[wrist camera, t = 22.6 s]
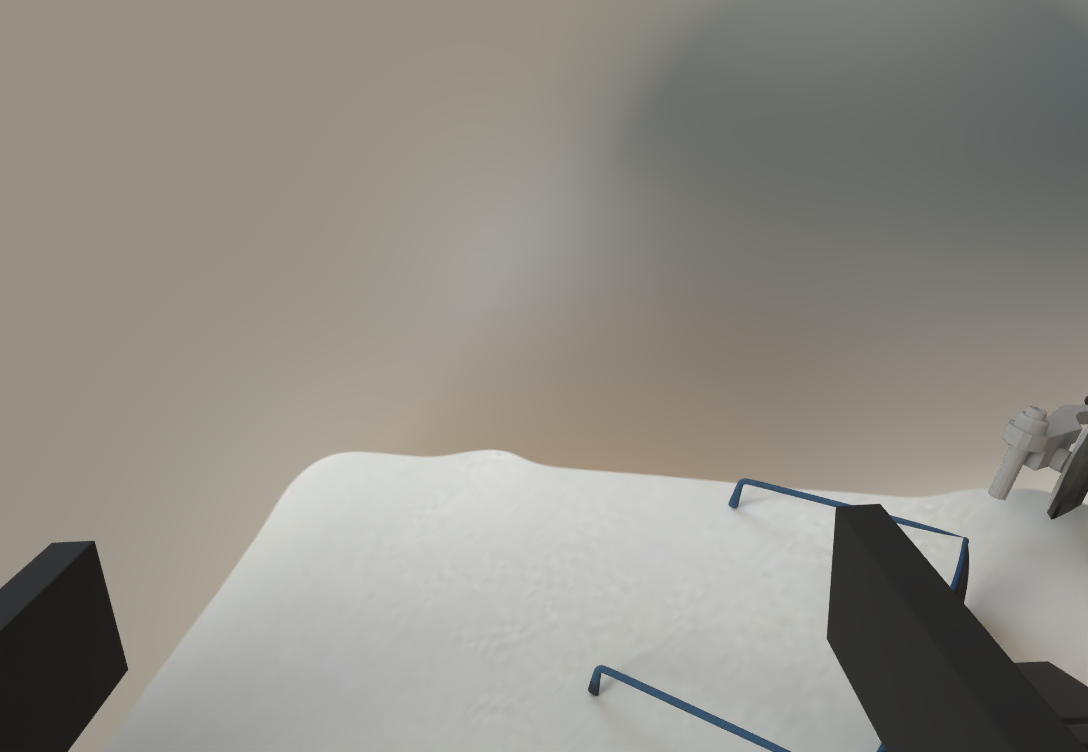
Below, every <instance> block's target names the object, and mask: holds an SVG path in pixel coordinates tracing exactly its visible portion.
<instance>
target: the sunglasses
mask: <svg viewBox="0 0 1088 752" xmlns="http://www.w3.org/2000/svg"><path fill="white" fill-rule="evenodd" d="M744 484H748V485H752V486H756V487H760V488H764V489H768V490H772V491H776V492H780V493H783V494H787V495H791V496H795V497H799V498H803V499H806V500H810V501H814V502H818V503H822V504H825V505H829V506H833V507H836V506H848V505H849V504H846V503H842V502H838V501H834V500H830V499H826V498H823V497H819V496H815V495H811V494H807V493H803V492H799V491H795V490H792V489H788V488H784V487H780V486H776V485H771V484H768V483H764V482H760V481H755V480H751V479H741V480H740V481H739V482H738V483H737V485H736V487H735V490H734V492H733V494H732V496H731V499H730V501H729V506H731V507H733V508H737V507H738V503H739V499H740V495H741V491H742V487H743V485H744ZM890 516H891V515H890ZM891 518H892V519H893V520H894V521H895V522H896V523H899V524H903V525H907V526H911V527H915V528H919V529H923V530H928V531H932V532H936V533H941V534H946V535H951V536H957V537H961V536H958V535H955V534H952V533H949V532H946V531H943V530H940V529H937V528H933V527H930V526H927V525H923V524H920V523H916V522H913V521H909V520H905V519H902V518H898V517H894V516H891ZM962 538H963V542H962V547H961V553H960V557H959V561H958V565H957V568H956V572H955V575H954V578H953V581H952V584H951V586H950V588H951V589H952V590H953V591H954V592H955V594H956V595H957V596H958V597H959V598H960V600H961V601H962V602H963V603H964V601H965V595H966V590H967V583H968V574H969V550H968V543H969V539H968V538H966V537H962ZM601 673H604V674H606V675H608V676H611V677H613V678H615V679H617V680H619V681H622V682H624V683H626V684H628V685H630V686H632V687H635V688H637V689H639V690H641V691H643V692H645V693H647V694H650V695H652V696H654V697H656V698H658V699H660V700H662V701H665V702H667V703H669V704H671V705H673V706H675V707H677V708H680V709H682V710H684V711H686V712H688V713H690V714H692V715H695V716H697V717H699V718H701V719H703V720H705V721H708V722H710V723H712V724H714V725H716V726H718V727H720V728H723V729H725V730H727V731H729V732H731V733H733V734H736V735H738V736H740V737H742V738H744V739H746V740H749V741H751V742H753V743H755V744H757V745H759V746H762V747H764V748H766V749H768V750H770V751H773V752H791V751H789V750H786V749H784V748H782V747H780V746H778V745H776V744H774V743H772V742H770V741H768V740H765V739H763V738H761V737H759V736H757V735H755V734H753V733H750V732H748V731H746V730H744V729H742V728H740V727H738V726H735V725H733V724H731V723H729V722H727V721H725V720H723V719H720V718H718V717H716V716H714V715H712V714H710V713H707V712H705V711H703V710H701V709H699V708H697V707H695V706H692V705H690V704H688V703H686V702H684V701H682V700H679V699H677V698H675V697H673V696H671V695H668V694H666V693H664V692H662V691H660V690H658V689H655V688H653V687H651V686H649V685H647V684H644V683H642V682H640V681H638V680H636V679H633V678H631V677H629V676H627V675H625V674H622V673H620V672H618V671H616V670H613V669H611V668H609V667H606V666H603V665H600V666H597V667H596V668H595V670H594V672H593V675H592V678H591V681H590V684H589V688H588V691H589V692H590V693H591V694H593V695H595V696H598V693H599V686H600V678H601ZM877 752H886V750H885V748H884V746H883V744H881V745H880V747H879V749H878V750H877Z"/></svg>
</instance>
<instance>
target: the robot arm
mask: <svg viewBox="0 0 1088 752" xmlns="http://www.w3.org/2000/svg"><path fill="white" fill-rule="evenodd" d="M827 640H828V642H829V644H830V646H831V648H832V650H833V651H834V653H835V655H836V657H837V659H838V661H839V663H840V665H841V667H842V668H843V670H844V672H845V674H846V676H847V678H848V680H849V682H850V684H851V686H852V687H853V689H854V691H855V693H856V695H857V697H858V699H859V701H860V703H861V704H862V706H863V708H864V710H865V712H866V714H867V716H868V718H869V720H870V721H871V723H872V725H873V727H874V729H875V731H876V733H877V735H878V737H879V738H880V740H881V742H882V744H883V746H884V748H885V750H886V752H1088V687H1087V686H1086V685H1084V684H1083V683H1081V682H1080V681H1078V680H1076V679H1075V678H1073V677H1072V676H1070V675H1069V674H1067V673H1065V672H1064V671H1062V670H1061V669H1059V668H1058V667H1056V666H1055V665H1053V664H1051V663H1050V662H1048V661H1047V662H1024V663H1013V661H1012V660H1011V659H1010V658H1009V657H1008V655H1007V654H1006V653H1005V652H1004V651H1003V649H1002V648H1001V647H1000V646H999V645H998V644H997V642H996V641H995V640H994V639H993V638H992V636H991V635H990V634H989V633H988V632H987V630H986V629H985V628H984V627H983V626H982V625H981V623H980V622H979V621H978V620H977V619H976V617H975V616H974V615H973V614H972V613H971V611H970V610H969V609H968V608H967V607H966V605H965V604H964V603H963V602H962V601H961V600H960V598H959V597H958V596H957V595H956V594H955V592H954V591H953V590H952V589H951V588H950V586H949V585H948V584H947V583H946V582H945V581H944V579H943V578H942V577H941V576H940V575H939V573H938V572H937V571H936V570H935V569H934V567H933V566H932V565H931V564H930V563H929V561H928V560H927V559H926V558H925V557H924V556H923V554H922V553H921V552H920V551H919V550H918V548H917V547H916V546H915V545H914V544H913V542H912V541H911V540H910V539H909V538H908V537H907V535H906V534H905V533H904V532H903V531H902V529H901V528H900V527H899V526H898V525H897V523H896V522H895V521H894V520H893V519H892V518H891V516H890V515H889V514H888V513H887V512H886V510H885V509H884V508H883V507H882V506H881V504H869V505H848V506H836V514H835V529H834V543H833V557H832V572H831V586H830V600H829V615H828V629H827ZM127 670H128V667H127V663H126V659H125V656H124V651H123V648H122V644H121V640H120V636H119V632H118V629H117V625H116V621H115V617H114V613H113V610H112V606H111V602H110V598H109V594H108V590H107V587H106V583H105V579H104V575H103V572H102V568H101V564H100V560H99V557H98V552H97V549H96V545H95V541H83V542H62V543H61V542H60V543H51V544H50V545H49V546H48V547H47V548H46V549H45V550H43V551H42V552H41V553H40V554H39V555H38V556H37V557H35V558H34V559H33V560H32V561H31V562H30V563H29V564H28V565H26V567H24V568H23V569H22V570H21V571H20V572H19V573H17V574H16V575H15V576H14V577H13V578H12V579H11V580H10V581H9V582H8V583H6V584H5V585H4V586H3V587H2V588H1V589H0V752H68V750H69V749H70V748H71V746H72V745H73V744H74V742H75V741H76V740H77V738H78V737H79V736H80V734H81V733H82V731H83V730H84V729H85V727H86V726H87V725H88V723H89V722H90V720H91V719H92V718H93V716H94V715H95V714H96V713H97V711H98V710H99V708H100V707H101V706H102V704H103V703H104V701H105V700H106V699H107V698H108V696H109V695H110V694H111V692H112V691H113V689H114V688H115V687H116V685H117V684H118V683H119V681H120V680H121V679H122V677H123V676H124V675H125V673H126V672H127Z"/></svg>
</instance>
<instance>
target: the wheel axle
mask: <svg viewBox="0 0 1088 752" xmlns="http://www.w3.org/2000/svg"><path fill="white" fill-rule="evenodd" d="M1085 404H1086V405H1066V406H1062V407H1060V408H1059V409H1057V410H1056V411H1055V412H1054V413H1053V414H1051V415H1050V416H1048V417H1046V416H1047V412H1046V411H1044V410H1042V409H1040V408H1036V407H1033V406H1030V407H1029V408H1028V410H1027V411H1026V412H1024V411H1023V412H1020V413H1019V414H1018V416H1017V418H1016V420H1010V421H1009V423H1008V425H1007V427H1006V429H1005V431H1004V433H1003V436H1002V438H1003V440H1004V441H1005V443H1007V444H1008V445H1010V447H1009V450H1008V451H1007V453H1006V456H1005V457H1004V460H1003V462H1002V464H1001V466H1000V468H999V470H998V472H997V474H996V477H995V478H994V481H993V483H992V485H991V487H990V489H989V491H988V493H989V494H990V495H991V496H993V497H995V498H997V499H1001V500H1005V499H1006V497H1007V495H1008V493H1009V491H1010V489H1011V487H1012V485H1013V483H1014V481H1015V479H1016V477H1017V475H1018V473H1019V471H1020V469H1021V467H1022V465H1023V464H1024V465H1026V466H1028V467H1030V468H1031V469H1033V470H1038V469H1041V468H1045V467H1048V466H1049V467H1050V468H1052V469H1054V470H1056V471H1058V472H1061V475H1060V477H1059V479H1058V481H1057V483H1056V485H1055V487H1054V489H1053V492H1052V495H1051V499H1050V503H1049V507H1048V510H1047V513H1048V515H1049V516H1050V518H1051V520H1052V519H1055V518H1057V517H1059V516H1061V515H1063V514H1065V513H1067V512H1070V511H1071V510H1073V509H1074V508H1076V507H1078V506H1079V505H1081V503H1082V502H1083V500H1084V498H1085V496H1086V494H1087V492H1088V427H1087V429H1086V430H1085V431H1084V432H1083V433H1082V434H1081V436H1080V438H1079V440H1078V442H1077V443H1076V446H1075V447H1074V449H1073V452H1070V451H1068V450H1069V448H1070V446H1071V444H1073V443H1075V442H1076V440H1077V438H1078V436H1079V434H1080V432H1081V430H1082V427H1081V426H1080V424H1088V396H1087V397H1086V399H1085Z"/></svg>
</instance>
